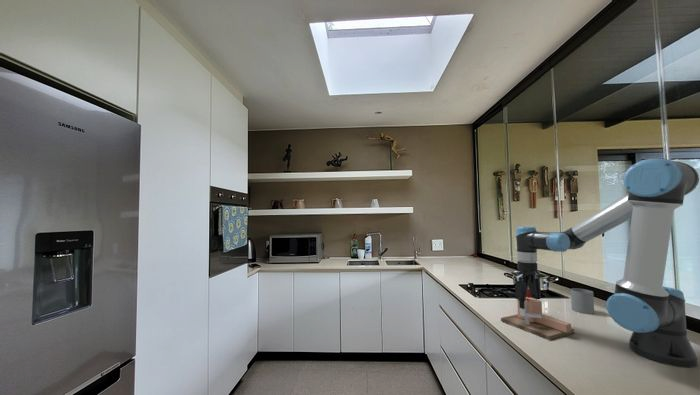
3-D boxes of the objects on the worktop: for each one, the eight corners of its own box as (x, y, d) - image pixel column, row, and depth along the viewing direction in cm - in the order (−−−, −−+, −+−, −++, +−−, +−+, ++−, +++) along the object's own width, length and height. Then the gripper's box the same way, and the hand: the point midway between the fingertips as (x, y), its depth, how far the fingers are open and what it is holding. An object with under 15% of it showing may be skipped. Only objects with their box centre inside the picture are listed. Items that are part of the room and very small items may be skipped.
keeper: (525, 327, 115) (524, 311, 115) (540, 329, 113) (539, 313, 113) (526, 330, 112) (525, 313, 112) (542, 332, 110) (541, 315, 110)
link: (518, 317, 121) (517, 298, 122) (527, 315, 124) (526, 297, 124) (563, 333, 104) (562, 312, 105) (573, 330, 107) (572, 309, 108)
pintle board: (574, 333, 109) (573, 313, 110) (549, 340, 103) (548, 319, 103) (524, 316, 128) (524, 299, 128) (500, 321, 121) (500, 303, 122)
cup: (568, 309, 137) (567, 289, 137) (577, 307, 140) (576, 287, 141) (588, 315, 129) (587, 293, 130) (597, 312, 132) (596, 291, 133)
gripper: (532, 258, 129) (534, 309, 127) (504, 261, 121) (505, 315, 119) (549, 261, 122) (551, 314, 120) (520, 264, 114) (522, 321, 113)
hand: (529, 314), depth 120 cm, fingers closed on link, 6 cm apart
